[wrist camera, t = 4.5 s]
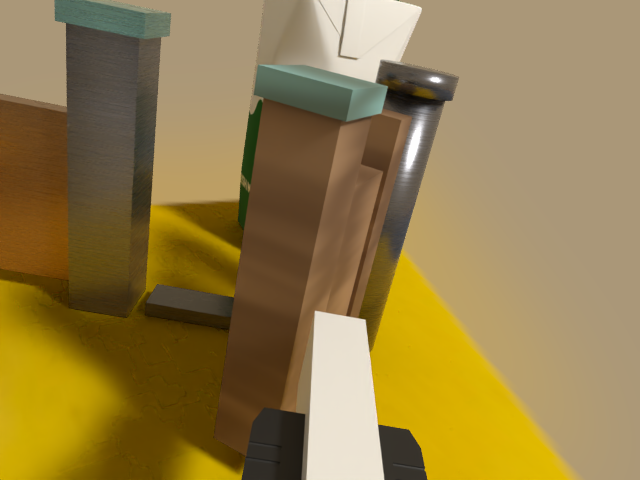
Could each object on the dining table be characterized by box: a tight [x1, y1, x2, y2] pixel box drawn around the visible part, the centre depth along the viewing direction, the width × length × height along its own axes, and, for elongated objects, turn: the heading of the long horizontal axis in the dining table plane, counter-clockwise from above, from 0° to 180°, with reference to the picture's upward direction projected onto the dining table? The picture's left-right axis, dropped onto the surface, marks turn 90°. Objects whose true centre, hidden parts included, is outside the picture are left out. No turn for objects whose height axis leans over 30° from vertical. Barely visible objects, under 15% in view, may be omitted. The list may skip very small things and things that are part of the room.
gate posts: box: [0, 0, 459, 352], centre depth 25 cm, size 21×4×15 cm, turn 89°
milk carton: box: [238, 0, 422, 230], centre depth 35 cm, size 9×9×20 cm
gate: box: [214, 65, 412, 456], centre depth 20 cm, size 9×3×14 cm, turn 154°
